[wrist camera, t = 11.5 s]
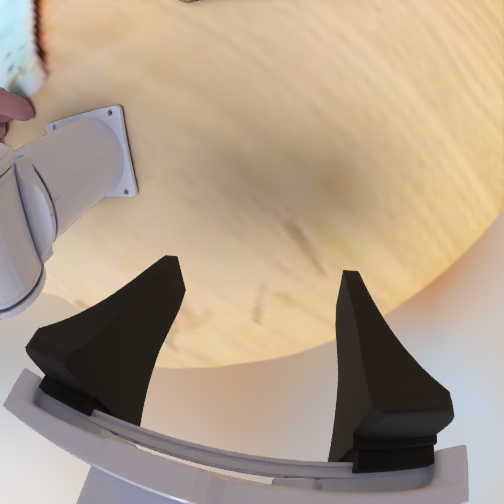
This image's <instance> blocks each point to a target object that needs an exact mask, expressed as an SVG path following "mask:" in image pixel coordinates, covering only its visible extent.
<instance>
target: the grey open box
mask: <svg viewBox="0 0 504 504" xmlns="http://www.w3.org/2000/svg"><path fill="white" fill-rule="evenodd" d="M180 1H182V2H185V3H188V2H193V1H199V0H180Z"/></svg>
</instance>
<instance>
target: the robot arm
mask: <svg viewBox="0 0 504 504" xmlns="http://www.w3.org/2000/svg"><path fill="white" fill-rule="evenodd" d="M110 110H111V111H112V114H111V113H110ZM55 125H56V127H55ZM45 131H46V135H44V136H42V137H40V138H38V139H36V140H34V141H32V142H30V143H28V144H26V145H24V146H23V147H21V148H19V149H17V150H15V151H14V149H13V148H12V147H10V146H7V145H5V144H3V143H0V320H3V319H8V318H11V317H13V316H16V315H18V314H19V313H21V312H23V311H24V310H25V309H27V308H28V307H29V306H30V305H31V304H32V303H33V302H34V301H35V300H36V298H37V297H38V296H39V294H40V293H41V291H42V289H43V287H44V284H45V280H46V269H45V266H44V263H45V262H46V261H47V260H48V259H49V258H50V257H51V256H52V255H53V250H52V243H53V242H54V241H55V240H56V239H57V238H58V237H59V236H60V235H61V234H62V233H63V232H65V231H66V230H67V229H68V228H69V227H70V226H71V225H72V224H73V223H74V222H75V221H76V220H78V219H79V218H80V217H81V216H82V215H83V214H84V213H85V212H87V211H88V210H89V209H90V208H91V207H92V206H94V205H95V204H96V203H97V202H98V201H99V200H101V199H102V198H103V197H134V196H135V195H136V194H137V193H138V189H137V185H136V181H135V176H134V171H133V167H132V162H131V157H130V152H129V146H128V141H127V136H126V130H125V124H124V118H123V112H122V108H121V106H119V105H114V106H110V107H105V108H101V109H97V110H93V111H89V112H86V113H82V114H78V115H75V116H71V117H68V118H65V119H61V120H58V121H55V122H52V123H49V124H47V125H46V127H45ZM126 189H127V190H128V192H129V193H128V192H127V191H126ZM185 291H186V289H185V285H184V281H183V277H182V273H181V269H180V265H179V261H178V257H177V256H167V255H165V256H164V257H162V258H161V259H160V260H158V261H157V262H156V263H154V264H153V265H152V266H150V267H149V268H148V269H146V270H145V271H144V272H143V273H141V274H140V275H139V276H137V277H136V278H135V279H133V280H132V281H131V282H129V283H128V284H127V285H125V286H124V287H122V288H121V289H120V290H118V291H117V292H115V293H114V294H112V295H111V296H109V297H108V298H106V299H105V300H103V301H101V302H100V303H98V304H96V305H94V306H92V307H90V308H89V309H87V310H85V311H83V312H81V313H79V314H77V315H75V316H72V317H70V318H67V319H65V320H62V321H60V322H57V323H54V324H51V325H48V326H45V327H42V328H39V329H38V330H37V331H36V333H35V334H34V335H33V337H32V338H31V340H30V341H29V343H28V344H27V346H26V347H25V348H26V352H27V354H28V355H29V357H30V358H31V359H32V360H33V362H34V363H35V364H36V365H37V366H38V367H39V368H40V369H41V371H42V372H43V373H44V374H45V376H44V378H43V379H42V378H41V377H39V376H38V375H36V374H35V373H33V372H31V371H30V370H28V369H26V368H24V370H23V371H22V373H21V375H20V376H19V378H18V380H17V381H16V383H15V385H14V387H13V388H12V390H11V392H10V393H9V395H8V397H7V399H6V401H5V402H4V404H3V406H4V407H5V408H6V409H7V410H8V411H10V412H11V413H12V414H13V415H15V416H16V417H17V418H19V419H20V420H21V421H22V422H24V423H25V424H26V425H28V426H29V427H31V428H32V429H33V430H35V431H36V432H38V433H39V434H41V435H42V436H44V437H45V438H47V439H48V440H49V441H51V442H53V443H54V444H56V445H57V446H59V447H60V448H62V449H64V450H65V451H67V452H69V453H70V454H72V455H74V456H76V457H77V458H79V459H81V460H83V461H85V462H86V463H88V464H90V465H92V466H91V468H90V471H89V473H88V476H87V478H86V481H85V483H84V486H83V488H82V491H81V493H80V496H79V498H78V501H77V504H465V503H467V502H468V495H469V492H468V463H467V449H466V445H461V446H456V447H451V448H445V449H441V450H438V451H435V452H434V445H435V444H436V443H437V435H436V434H437V433H439V432H440V431H441V430H443V429H444V428H445V427H446V426H448V424H450V423H451V421H452V420H453V418H454V411H453V404H452V400H451V397H450V392H449V391H448V390H447V389H446V388H444V387H443V386H442V385H441V384H439V383H438V382H437V381H436V380H435V379H434V378H433V377H431V376H430V375H429V374H428V373H427V372H426V371H425V370H424V369H423V368H422V367H421V366H420V365H419V364H418V363H417V362H416V360H415V359H414V358H413V357H412V356H411V355H410V354H409V353H408V352H407V350H406V349H405V348H404V347H403V345H402V344H401V343H400V342H399V340H398V339H397V337H396V336H395V335H394V333H393V332H392V330H391V329H390V328H389V326H388V325H387V323H386V321H385V320H384V318H383V317H382V315H381V313H380V312H379V310H378V308H377V306H376V305H375V303H374V301H373V299H372V298H371V296H370V294H369V292H368V290H367V288H366V286H365V284H364V282H363V280H362V278H361V276H360V274H359V272H358V271H348V270H343V274H342V280H341V285H340V290H339V295H338V299H337V304H336V341H337V357H338V389H337V401H336V410H335V419H334V427H333V434H332V441H331V447H330V453H329V458H328V462H312V461H299V460H287V459H277V458H270V457H262V456H255V455H249V454H243V453H237V452H232V451H226V450H222V449H217V448H212V447H208V446H203V445H199V444H195V443H191V442H188V441H184V440H180V439H176V438H173V437H170V436H166V435H163V434H160V433H157V432H154V431H151V430H148V429H145V428H142V427H140V423H141V418H142V411H143V407H144V402H145V398H146V393H147V389H148V385H149V382H150V378H151V375H152V371H153V368H154V365H155V362H156V359H157V356H158V353H159V351H160V349H161V346H162V344H163V342H164V340H165V338H166V336H167V334H168V332H169V330H170V328H171V326H172V324H173V322H174V320H175V317H176V315H177V313H178V311H179V309H180V306H181V303H182V300H183V297H184V294H185ZM124 439H125V440H124ZM126 440H127V441H126ZM128 441H130V442H133V443H135V444H138V445H140V446H143V447H146V448H149V449H152V450H154V451H158V452H160V453H164V454H167V455H170V456H174V457H177V458H180V459H183V460H187V461H191V462H195V463H198V464H202V465H207V466H211V467H215V468H220V469H224V470H229V471H235V472H240V473H246V474H252V475H259V476H266V477H274V478H275V479H273V480H272V484H265V483H260V482H254V481H249V480H245V479H240V478H236V477H231V476H227V475H223V474H219V473H215V472H211V471H208V470H204V469H200V468H197V467H193V466H190V465H187V464H184V463H180V462H177V461H173V460H170V459H167V458H164V457H161V456H158V455H154V454H152V453H149V452H146V451H143V450H141V449H138V448H137V447H136V446H135V445H134V444H132V443H130V442H128Z"/></svg>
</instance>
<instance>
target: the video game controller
mask: <svg viewBox="0 0 504 504" xmlns="http://www.w3.org/2000/svg"><path fill="white" fill-rule="evenodd" d="M33 115H34V110H33V107H32V106H31V104H30V103H29V102H28V101H27V100H25V99H24V98H22V97H21V96H19V95H17V94H14V93H10V92H7V91H6V90H5V89H4V88H1V87H0V138H2V137H3V136H4V135H5V134H6V123H5V122H7V121H9V120H11V119H12V118H13V119H16V120H21V121H26V120H30V119H31V118H32V117H33Z"/></svg>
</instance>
